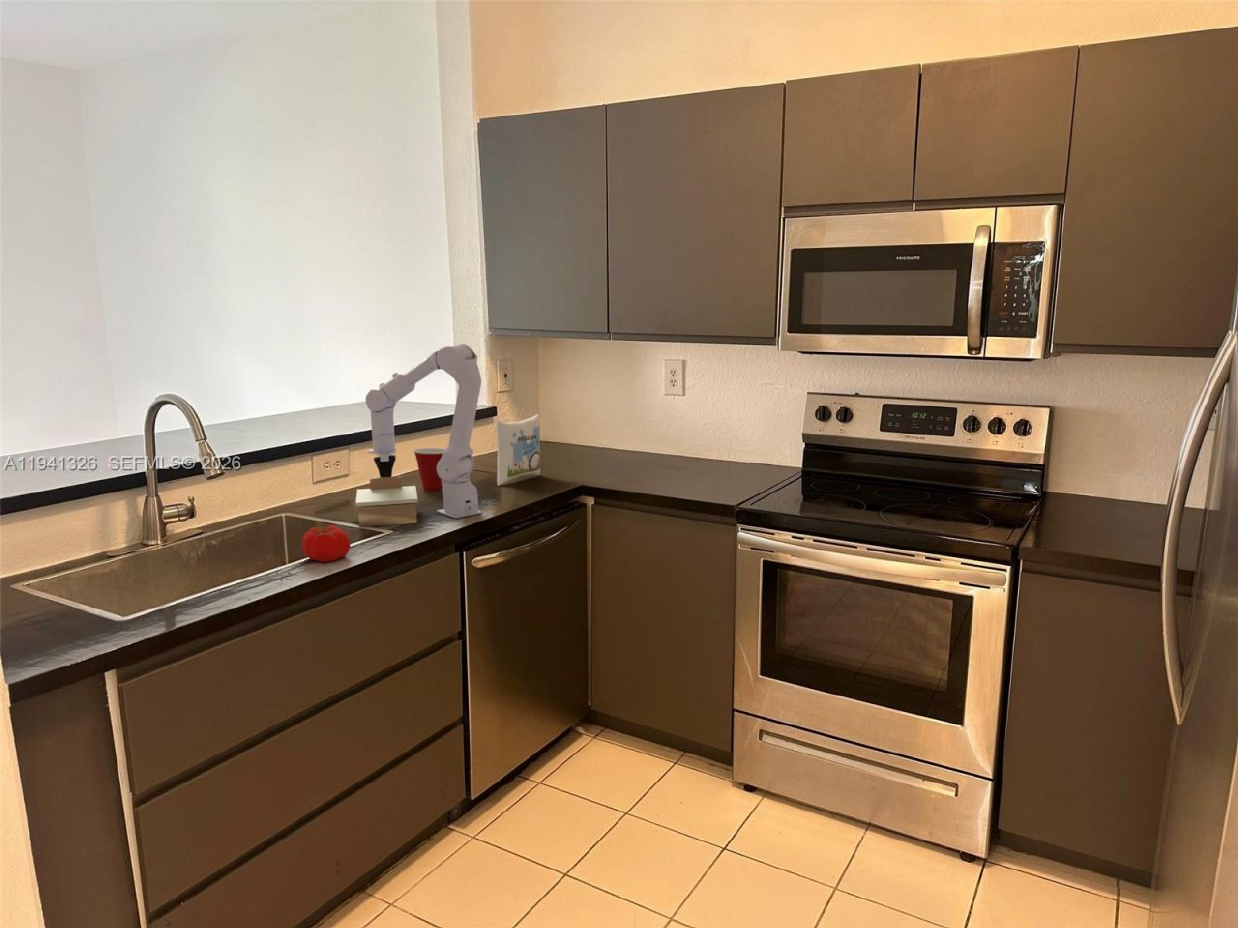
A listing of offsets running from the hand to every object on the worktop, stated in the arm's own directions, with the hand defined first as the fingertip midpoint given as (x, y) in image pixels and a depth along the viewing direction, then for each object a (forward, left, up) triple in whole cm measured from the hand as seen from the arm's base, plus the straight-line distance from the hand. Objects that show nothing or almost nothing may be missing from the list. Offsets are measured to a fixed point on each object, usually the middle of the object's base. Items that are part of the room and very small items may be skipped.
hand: (386, 483), depth 233 cm
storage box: (-10, +5, -7) cm, 13 cm away
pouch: (+3, -46, -7) cm, 47 cm away
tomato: (-32, +31, -7) cm, 45 cm away
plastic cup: (+12, -21, -7) cm, 25 cm away
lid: (-10, +5, -2) cm, 11 cm away
